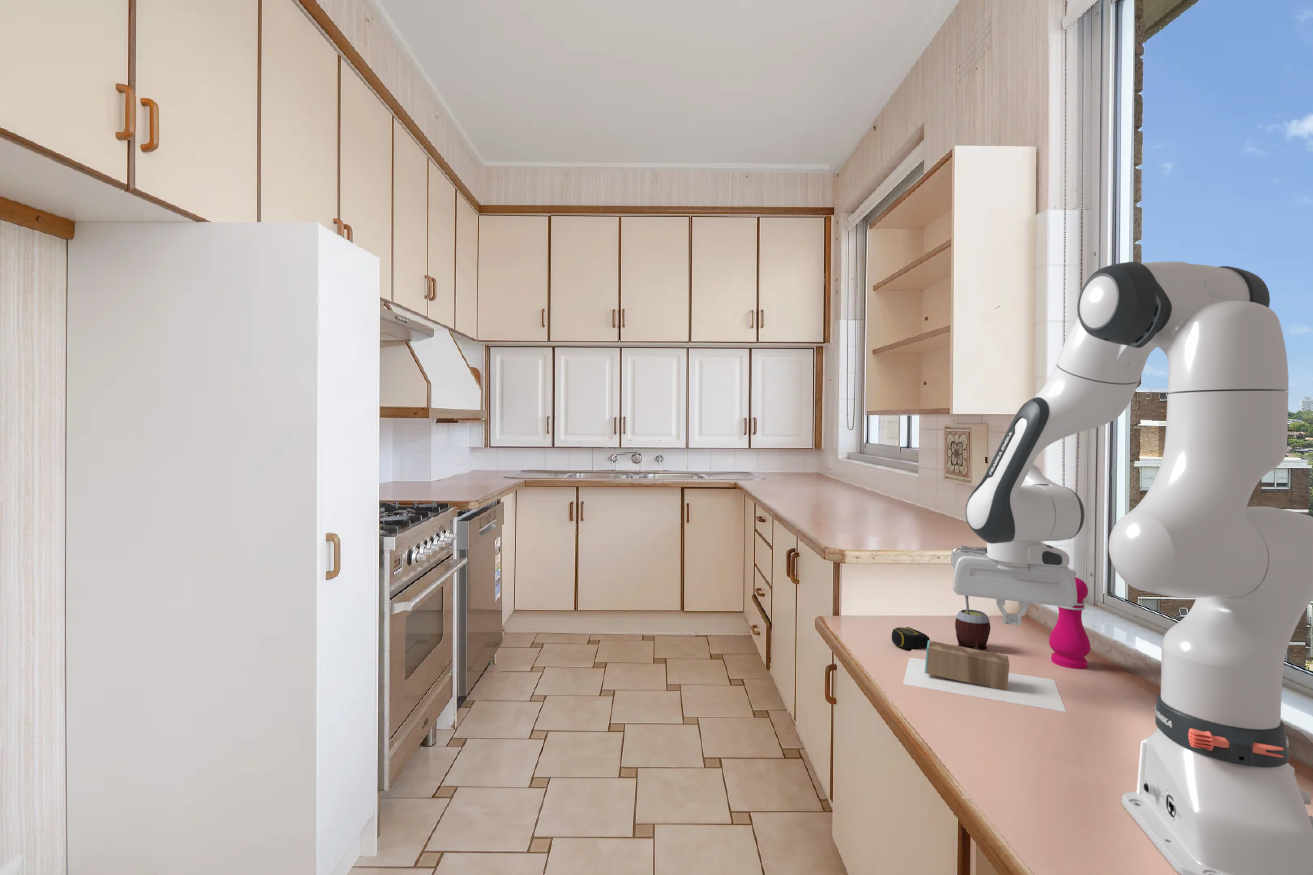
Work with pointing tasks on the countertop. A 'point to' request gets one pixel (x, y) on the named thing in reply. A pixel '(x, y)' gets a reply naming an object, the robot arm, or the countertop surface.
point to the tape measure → (909, 638)
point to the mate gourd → (972, 628)
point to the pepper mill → (1071, 633)
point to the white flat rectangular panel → (1018, 689)
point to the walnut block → (967, 665)
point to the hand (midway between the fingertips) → (1011, 623)
